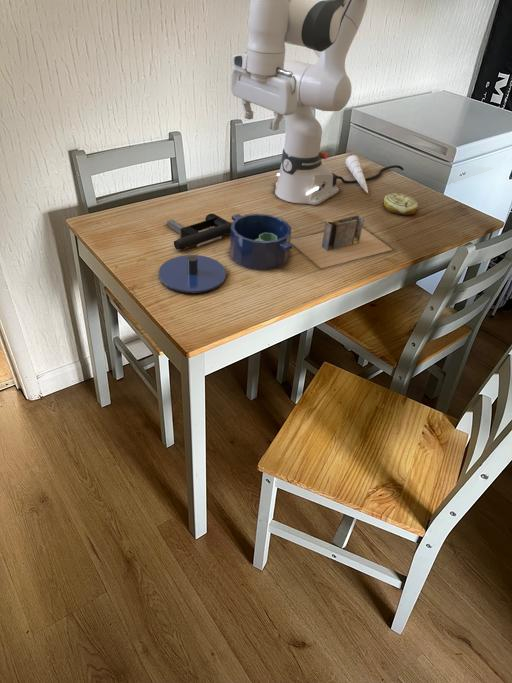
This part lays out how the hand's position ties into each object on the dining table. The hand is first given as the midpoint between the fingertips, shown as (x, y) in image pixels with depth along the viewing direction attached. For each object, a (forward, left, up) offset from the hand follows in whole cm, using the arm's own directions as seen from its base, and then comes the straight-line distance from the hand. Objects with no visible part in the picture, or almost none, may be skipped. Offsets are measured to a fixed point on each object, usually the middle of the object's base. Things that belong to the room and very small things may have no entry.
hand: (261, 123), depth 134 cm
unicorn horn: (-58, -8, -31) cm, 66 cm away
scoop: (+6, +9, -31) cm, 32 cm away
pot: (+6, +9, -31) cm, 33 cm away
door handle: (+13, -10, -31) cm, 35 cm away
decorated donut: (-50, +15, -31) cm, 61 cm away
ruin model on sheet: (-16, +19, -31) cm, 40 cm away
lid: (+27, +7, -30) cm, 41 cm away
